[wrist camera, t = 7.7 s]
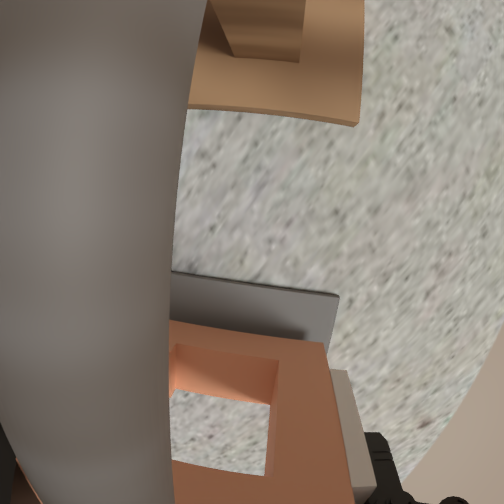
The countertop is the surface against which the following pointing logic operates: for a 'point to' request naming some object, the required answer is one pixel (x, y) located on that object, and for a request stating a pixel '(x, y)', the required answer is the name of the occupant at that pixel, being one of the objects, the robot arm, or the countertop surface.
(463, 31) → the countertop surface
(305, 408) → the c link
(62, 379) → the stand
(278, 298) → the mat
